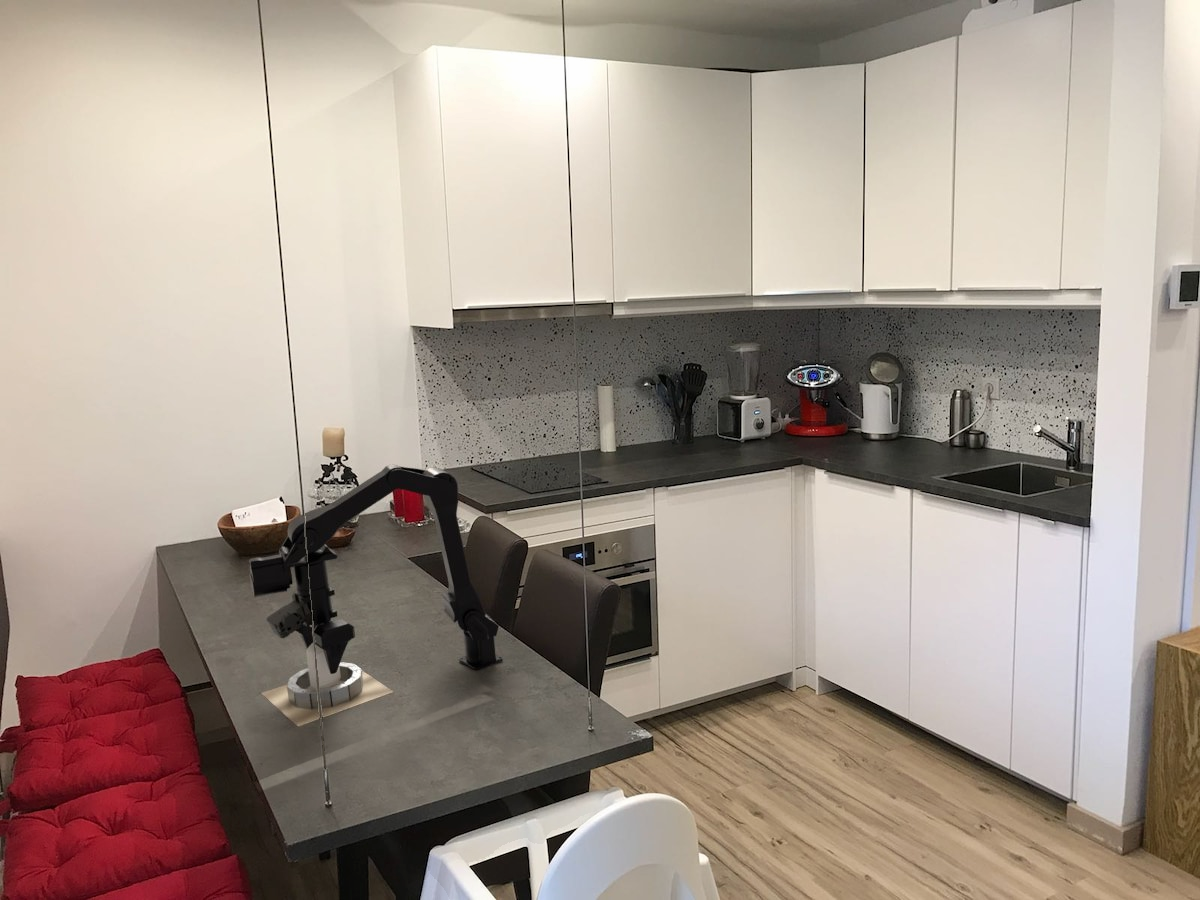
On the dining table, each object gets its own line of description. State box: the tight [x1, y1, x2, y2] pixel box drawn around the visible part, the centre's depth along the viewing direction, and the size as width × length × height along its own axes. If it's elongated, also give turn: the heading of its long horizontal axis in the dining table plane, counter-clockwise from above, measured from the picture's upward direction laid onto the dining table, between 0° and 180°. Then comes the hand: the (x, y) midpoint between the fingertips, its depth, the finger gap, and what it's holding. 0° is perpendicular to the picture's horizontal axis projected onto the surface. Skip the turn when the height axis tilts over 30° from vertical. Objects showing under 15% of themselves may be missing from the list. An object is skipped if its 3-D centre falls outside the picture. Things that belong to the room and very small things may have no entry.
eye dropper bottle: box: [305, 628, 341, 689], centre depth 172 cm, size 4×6×12 cm
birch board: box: [261, 670, 394, 727], centre depth 174 cm, size 18×18×1 cm
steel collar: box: [286, 661, 363, 710], centre depth 173 cm, size 13×13×3 cm
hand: (323, 666), depth 173 cm, fingers closed on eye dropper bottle, 8 cm apart
